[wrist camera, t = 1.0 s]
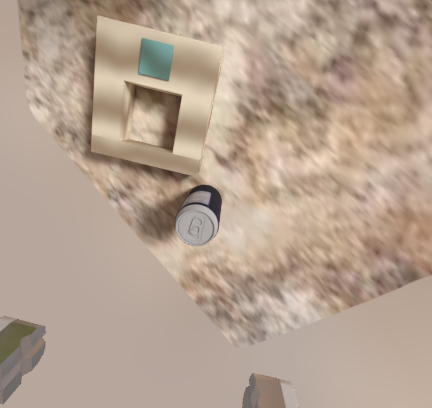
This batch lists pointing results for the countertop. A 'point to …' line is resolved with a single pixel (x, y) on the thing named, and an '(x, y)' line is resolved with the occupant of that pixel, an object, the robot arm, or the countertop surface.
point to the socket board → (155, 80)
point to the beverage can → (199, 216)
